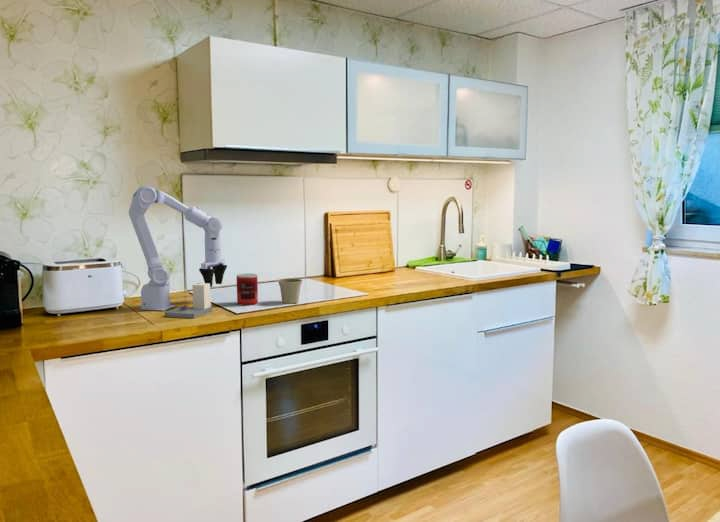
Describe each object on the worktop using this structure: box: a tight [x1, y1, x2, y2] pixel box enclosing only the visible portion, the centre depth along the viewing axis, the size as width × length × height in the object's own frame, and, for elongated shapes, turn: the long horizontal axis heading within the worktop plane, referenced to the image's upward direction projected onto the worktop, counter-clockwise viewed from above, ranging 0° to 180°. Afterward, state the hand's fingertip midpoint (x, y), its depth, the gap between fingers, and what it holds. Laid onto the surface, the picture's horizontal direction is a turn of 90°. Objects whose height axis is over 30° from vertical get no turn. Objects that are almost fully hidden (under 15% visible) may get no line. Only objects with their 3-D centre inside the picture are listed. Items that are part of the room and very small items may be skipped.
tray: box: [164, 305, 213, 319], centre depth 193 cm, size 11×12×2 cm
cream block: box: [191, 282, 212, 310], centre depth 201 cm, size 4×4×9 cm
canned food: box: [236, 273, 259, 306], centre depth 210 cm, size 8×8×11 cm
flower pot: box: [277, 278, 303, 305], centre depth 213 cm, size 9×9×9 cm
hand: (213, 285), depth 210 cm, fingers open, 7 cm apart
